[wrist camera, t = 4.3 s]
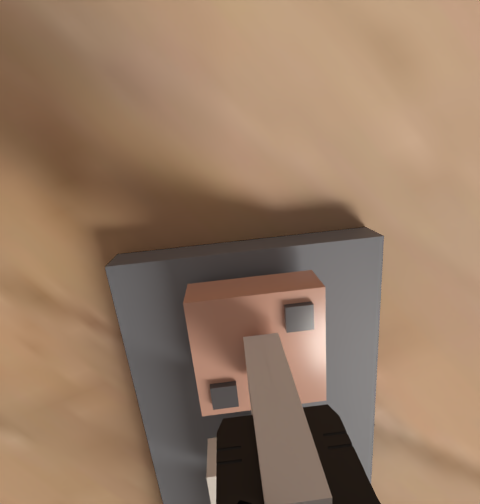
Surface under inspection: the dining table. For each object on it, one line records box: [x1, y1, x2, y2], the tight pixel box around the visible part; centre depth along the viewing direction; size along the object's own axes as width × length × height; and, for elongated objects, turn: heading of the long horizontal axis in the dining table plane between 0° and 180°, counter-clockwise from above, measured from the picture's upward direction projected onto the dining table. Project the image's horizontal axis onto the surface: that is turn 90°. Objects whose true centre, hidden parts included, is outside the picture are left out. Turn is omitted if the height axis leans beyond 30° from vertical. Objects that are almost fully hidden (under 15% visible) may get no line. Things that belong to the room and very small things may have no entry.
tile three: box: [183, 270, 326, 416], centre depth 15 cm, size 6×6×2 cm
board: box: [105, 227, 384, 504], centre depth 20 cm, size 14×24×2 cm, turn 5°
